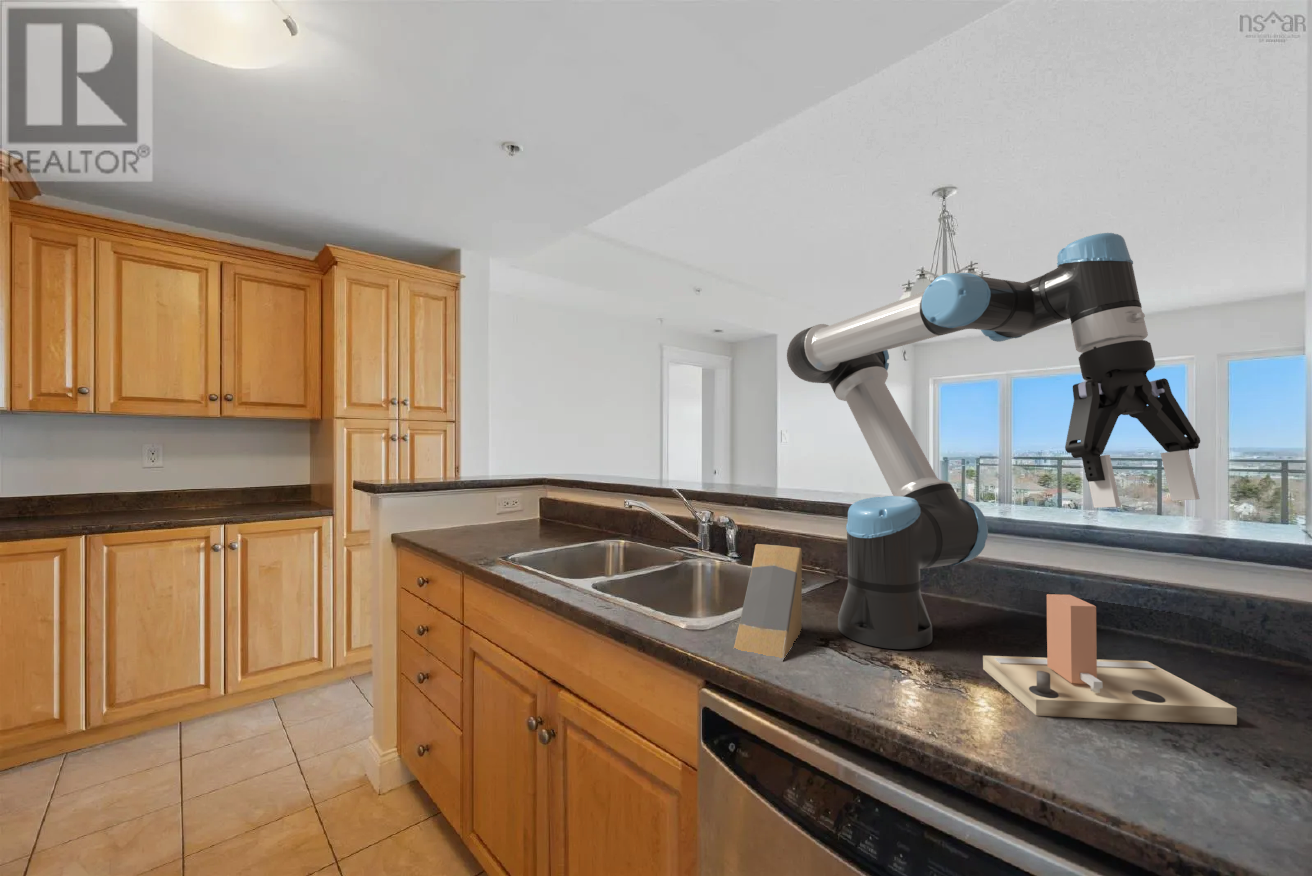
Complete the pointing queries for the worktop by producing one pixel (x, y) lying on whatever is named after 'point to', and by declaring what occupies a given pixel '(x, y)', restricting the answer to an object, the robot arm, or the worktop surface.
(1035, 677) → the board
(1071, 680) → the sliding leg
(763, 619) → the sandwich container
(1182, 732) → the worktop surface
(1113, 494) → the robot arm
